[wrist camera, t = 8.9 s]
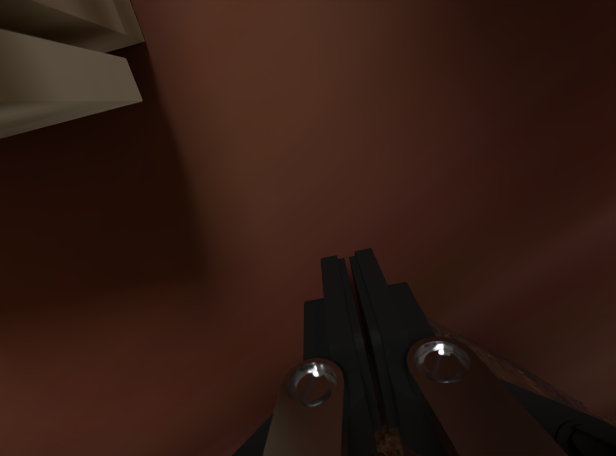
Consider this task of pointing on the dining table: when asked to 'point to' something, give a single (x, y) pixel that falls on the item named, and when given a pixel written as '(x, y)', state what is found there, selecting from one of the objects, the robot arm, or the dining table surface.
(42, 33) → the toolbox
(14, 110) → the lid
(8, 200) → the dining table surface
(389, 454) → the brick
